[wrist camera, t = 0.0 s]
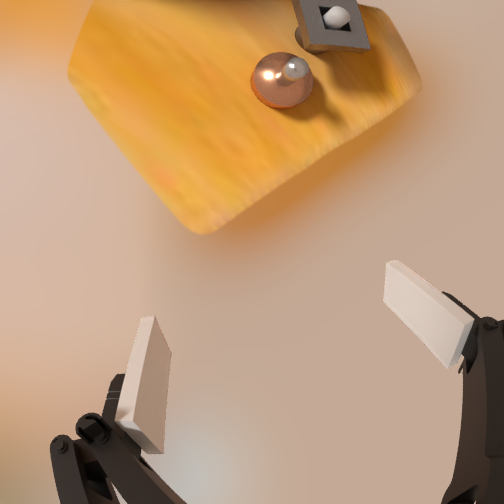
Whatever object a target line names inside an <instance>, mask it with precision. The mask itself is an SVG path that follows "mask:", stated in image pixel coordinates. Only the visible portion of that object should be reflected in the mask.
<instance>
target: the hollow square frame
mask: <svg viewBox="0 0 504 504" xmlns="http://www.w3.org/2000/svg"><path fill="white" fill-rule="evenodd" d="M292 3H293V6H294V10H295V13H296V17H297V21H298V25H299V29H300V33H301V37H302V41H303V45H304V49H305V50H330V51H343V52H354V53H364V52H367V51H369V50H371V47H370V44H369V40H368V36H367V33H366V29H365V26H364V22H363V19H362V16H361V13H360V10H359V7H358V4H357V1H356V0H292ZM334 6H338V7H342V8H344V9H345V10H346V11H347V12H348V13H349V15H350V21H349V22H347V23H346V24H345V25H343V26H342V27H341V28H342V31H340V30H330V29H325V27H324V23H323V20H322V16H321V14H326V13H327V12H328V11H329V10H330V9H331V8H332V7H334Z"/></svg>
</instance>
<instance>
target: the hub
mask: <svg viewBox="0 0 504 504" xmlns="http://www.w3.org/2000/svg"><path fill="white" fill-rule="evenodd" d="M313 84H314V80H313V75H312V72H311V70H310V68H309V66H308V63H307V62H306V61H305V60H304V59H302V58H299V57H297V56H295V55H293V54H290V53H285V52H277V53H272V54H269V55H267V56H265V57H264V58H262V59H261V60H260V62H259V63H258V64H257V66H256V68H255V69H254V71H253V73H252V76H251V86H252V90H253V92H254V94H255V95H256V97H257V98H258V99H259V100H260V101H261V102H262V103H264V104H265V105H267V106H269V107H272V108H276V109H286V108H290V107H293V106H295V105H297V104H299V103H301V102H303V101H304V100H306V99H307V98H308V97H309V95H310V94H311V92H312V89H313Z"/></svg>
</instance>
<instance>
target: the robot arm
mask: <svg viewBox="0 0 504 504" xmlns="http://www.w3.org/2000/svg"><path fill="white" fill-rule="evenodd" d="M383 302H384V303H385V304H386V305H387V306H388V307H389V308H390V309H391V310H392V311H393V312H394V313H395V314H396V315H397V316H398V317H399V318H400V319H401V320H402V321H403V322H404V323H405V324H406V325H407V326H408V327H409V328H410V329H411V330H412V331H413V332H414V333H415V335H416V336H417V337H418V338H419V339H420V340H421V341H422V342H423V343H424V344H425V345H426V346H427V347H428V348H429V350H430V351H431V352H432V353H433V354H434V355H435V356H436V357H437V358H438V359H439V360H440V362H441V363H442V364H443V365H444V366H445V367H446V368H447V369H448V368H450V367H451V366H453V365H455V364H456V363H457V362H458V360H459V358H460V355H461V354H462V355H463V356H464V360H463V362H462V364H461V366H460V368H459V371H458V373H460V371H461V370H462V368H463V404H462V419H461V430H460V438H459V446H458V452H457V458H456V464H455V469H454V474H453V478H452V481H451V484H450V486H449V487H448V489H447V490H446V492H445V494H444V496H443V499H442V503H441V504H474V502H475V501H476V504H504V320H501V321H497V320H495V319H493V318H491V317H483V318H480V317H479V316H477V315H476V314H475V313H474V312H472V311H471V310H470V309H469V308H467V307H466V306H465V305H463V304H462V303H461V302H460V301H458V300H457V299H456V298H455V297H453V296H452V295H450V294H448V293H445V292H440V291H439V290H438V289H436V288H435V287H434V286H432V285H431V284H430V283H428V282H427V281H426V280H424V279H423V278H422V277H420V276H419V275H417V274H416V273H415V272H414V271H412V270H411V269H409V268H408V267H407V266H405V265H404V264H402V263H401V262H399V261H398V260H393V261H389V262H387V263H386V278H385V288H384V298H383ZM170 362H171V351H170V349H169V347H168V344H167V342H166V340H165V338H164V335H163V333H162V331H161V329H160V326H159V324H158V322H157V319H156V317H155V315H154V316H148V317H142V319H141V322H140V325H139V329H138V332H137V335H136V338H135V342H134V346H133V349H132V352H131V356H130V359H129V363H128V367H127V370H126V374H117V375H116V376H115V378H114V379H113V380H112V381H111V384H110V387H109V393H108V394H107V400H106V401H105V406H104V409H103V413H102V417H101V416H100V415H99V414H96V413H88V414H85V415H83V416H82V417H81V418H80V419H79V420H78V422H77V423H76V434H77V435H78V436H79V437H81V438H82V439H78V440H71V438H70V437H69V436H67V435H59V436H57V437H55V438H54V439H53V440H52V442H51V445H50V454H51V461H52V467H53V472H54V478H55V483H56V487H57V491H58V496H59V499H60V503H61V504H120V503H119V501H118V498H117V496H116V493H115V491H114V488H113V486H112V483H113V485H114V486H115V487H116V489H117V490H118V492H119V493H120V494H121V495H122V497H123V498H124V500H125V501H126V502H127V504H187V503H186V502H185V501H183V500H182V499H181V498H180V497H179V496H178V495H177V494H176V493H175V492H174V491H173V490H172V489H171V488H170V487H169V486H168V485H167V484H166V483H165V482H164V481H163V480H162V479H161V478H160V477H159V475H158V474H157V473H156V472H155V471H154V470H153V469H152V468H151V467H150V465H148V463H147V462H146V461H145V460H144V458H142V457H141V449H143V451H145V452H146V453H147V454H164V435H165V418H166V404H167V392H168V381H169V372H170ZM111 482H112V483H111Z"/></svg>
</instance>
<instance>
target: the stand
mask: <svg viewBox="0 0 504 504" xmlns="http://www.w3.org/2000/svg"><path fill="white" fill-rule="evenodd" d="M321 16H322V20H323V23H324V27H325V29H330V30H340V31H342V28H341V27H342V26H343V25H345V24H346V23H347V22H349V21H350V15H349V13H348V12H347V11H346V10H345V9H344V8H342V7H338V6H334V7H332V8H331V9H330V10H329V11H328V12H327V13H326V14H321ZM295 38H296V41H297V42H298V44H299V45H300V46H301V47H302V48H303V49H304V45H303V41H302V37H301V33H300V29H299V26H298V28H297V29H296V31H295ZM306 51H308V52H311V53H317V54H318V53H323V52H325V51H327V50H306Z"/></svg>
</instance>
